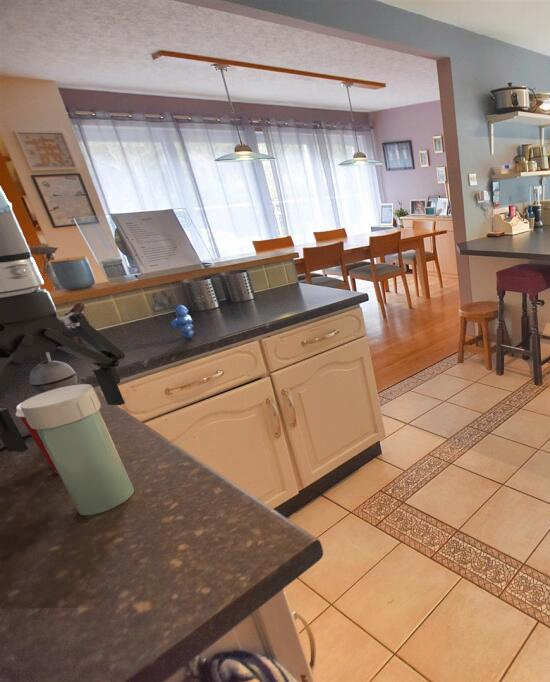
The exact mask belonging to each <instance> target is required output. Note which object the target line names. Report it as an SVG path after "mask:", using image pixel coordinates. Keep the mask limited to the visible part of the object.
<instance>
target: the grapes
mask: <svg viewBox="0 0 550 682" xmlns="http://www.w3.org/2000/svg"><path fill="white" fill-rule="evenodd" d="M175 311H176V312H175V316H176V318H174V319H173V320H172V321H171V322H170V324H169V325H170V326H171V327H173V328H176V329H179V331H180V333H182V337H184V338H185V339H188V340H189V339H192V337H193V335H194V334H195V331H194V330H192V329H193V327H194V325H193V324H192V323H193V321H194V320H193V319H192V317H191V316H190V315H189V314H188V313H189V309H188V308H187V307H185V306H184V305H182V304H179V305H177V307H176V308H175Z"/></svg>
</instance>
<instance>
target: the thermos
mask: <svg viewBox="0 0 550 682" xmlns="http://www.w3.org/2000/svg"><path fill="white" fill-rule="evenodd" d="M36 430H37V432H38V434H39V436H40V438H41V440H42V442H43V444H44V446H45V448H46V450H47V452H48V454H49V456H50V458H51V460H52V462H53V464H54V466H55V468H56V470H57V472H58V473H57V474H58V476H59V478H60V479H61V481H62V483H63V485H64V487H65V489H66V492H67V493H68V495H69V497H70V499H71V501H72V504H73V506H74V507H75V510H76V511H77V513H78V514H79V515H81V516H92V515H93V516H94V515H98V514H101V513H104V512H106V511H109V510H112V509H114V508H116V507H118V506H119V505H121V504H123V503H124V502H126V501H127V500H129V499H130V498H131V496H132V495H133V494H134V493H135V488H134V486H133V483H132V481H131V479H130V476H129V475H128V472H127V470H126V467H125V465H124V463H123V461H122V459H121V456H120V454H119V452H118V449H117V447H116V445H115V442H114V441H113V438H112V436H111V434H110V431H109V429H108V427H107V424H106V422H105V420H104V417H103V415H102V413H101V411H100V409H99V410H97V411H96V412H95V413H93V414H91V415H89V416H87V417H85V418H83V419H80V420H78V421H75V422H72V423H69V424H65V425H62V426H58V427H53V428H47V429H36Z"/></svg>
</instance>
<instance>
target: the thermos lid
mask: <svg viewBox="0 0 550 682" xmlns="http://www.w3.org/2000/svg"><path fill="white" fill-rule="evenodd" d="M22 402H23V403H22ZM22 402H20V403H21V405H20V408H21V410H22V412H23V414H24V416H25V418H26V420H27V422H28V424H29V425H30V427H31V428H33V429H47V428H53V427H58V426H62V425H65V424H69V423H72V422H75V421H78V420H80V419H83V418H85V417H87V416H89V415H91V414H93V413H95V412H96V411H97V410H99V411H100V409H101V405H102V403H101V401H100V399H99V397H98V394H97V392H96V390H95V389H94V387H93V385H92V384H88V383H81V384H80V383H79V384H78V383H77V385H71V386H66V387H61V388H57V389H54V390H50V391H47V392H44V393H41V394H39V393H37V394H36V395H34V396H31V397H29V398H27V399H26V400H24V401H22Z"/></svg>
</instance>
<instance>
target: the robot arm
mask: <svg viewBox="0 0 550 682" xmlns="http://www.w3.org/2000/svg"><path fill="white" fill-rule="evenodd" d="M44 284H45V282H44V279H43V278H42V275H41V273H40V271H39V268H38V266H37V264H36V261H35V259H34V258H33V254H32V252H31V250H30V246H29V245H28V243H27V240H26V238H25V236H24V233H23V231H22V228H21V226H20V223H19V220H18V219H17V217H16V215H15V211H14V210H13V205H12V203H11V202H10V201H9V200H8V199H7V197H6V195H5V193H4V191H3V189H2V187H1V186H0V404H1V403H2V400H3V398H4V396H5V395H6V392H7V390H8V388H9V386H10V384H11V382H12V379H13V377H14V375H15V373H16V371H17V369H18V367H19V366H21V365H22V364H23V362H24V359H33V358H36V357H38V356H40V355H42V354H46V353H47V352H49V353H52V352H55V351H56V349H58V350H60V351H63V352H65V353H66V354H69V355H71V356H73V357H77V358H79V359H81V360H83V361H85V362H88V363H90V364H93V365H94V366H97V367H96V368H94V369H92V372H93V374H94V376H95V379H96V381H97V383H98V385H99V387H100V390H101V391H102V395H103V397H104V399H105V401H106V403H107V405H108V406H122V405H124V404H125V403H126V402H125V400H124V397H123V395H122V392H121V390H120V388H119V386H118V385H119V384H121V378H120V375H119V373H118V370H117V367H119V365H120V362H119V361H120V360H124V359H125V357H126V355H125V353H124V352H123V351H122V350H121V349H120V348H118V347H117V345H115V344H114V343H113V342H111V340H108V338H107V337H105V336H104V335H103V334H102V333H101V332H99V331H98V330H97V329H96V328H95V327H93V326H92V325H91V324H90V322H89V321H88V319H87V317H86V316H85V314H84V313H83V312H66V313H64V315H63V316H61V317H59V316H58V315H57V308H56V306H55V304H54V301H53V299H52V297H51V295H50V292H49V291H48V290H47V289H46V288H41V287H42V286H43V285H44ZM65 328H67V329H70V330H72V331H73V332H74V333H75V334H76V335H78V337H80V338H81V339H83V340H84V341H85V342H86V343H88V344H89V346H91V347H93V348H94V349H95V350H96V351H95V350H93V349H91V348H89V347H87V346H85V345H82V344H80V343H78V342H76V340H74V339H72V338H70V337H68V336H66V335H64V334H63V333H64V330H65ZM0 440H1V441H2V444H3V445H4V447H5V449H6V451H7V452H16V453H22V452H25V451H28V449H29V448H28V446H27V444H26V442H25V440H24V438H23V436H22V434H21V432H20V430H19V428H18V426H17V425H16V423H15V421H14V419H13V417H12V416H11V413H10V412H9V410H8V408H6V407H5V408H2V407H0Z"/></svg>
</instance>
